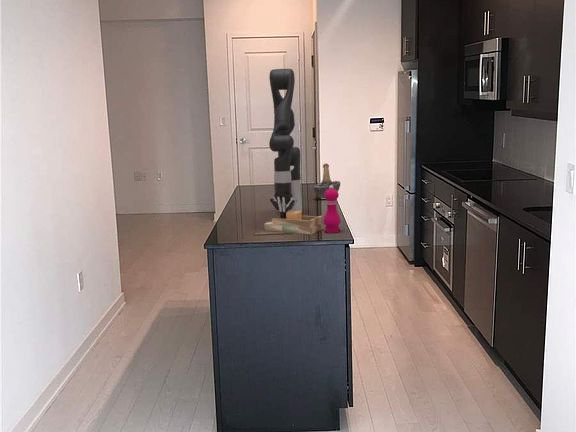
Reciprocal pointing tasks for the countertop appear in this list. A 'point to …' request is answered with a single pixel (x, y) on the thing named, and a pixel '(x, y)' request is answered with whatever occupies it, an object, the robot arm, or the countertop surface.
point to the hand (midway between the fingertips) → (283, 219)
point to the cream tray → (296, 225)
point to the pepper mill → (331, 211)
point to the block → (294, 215)
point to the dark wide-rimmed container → (325, 183)
